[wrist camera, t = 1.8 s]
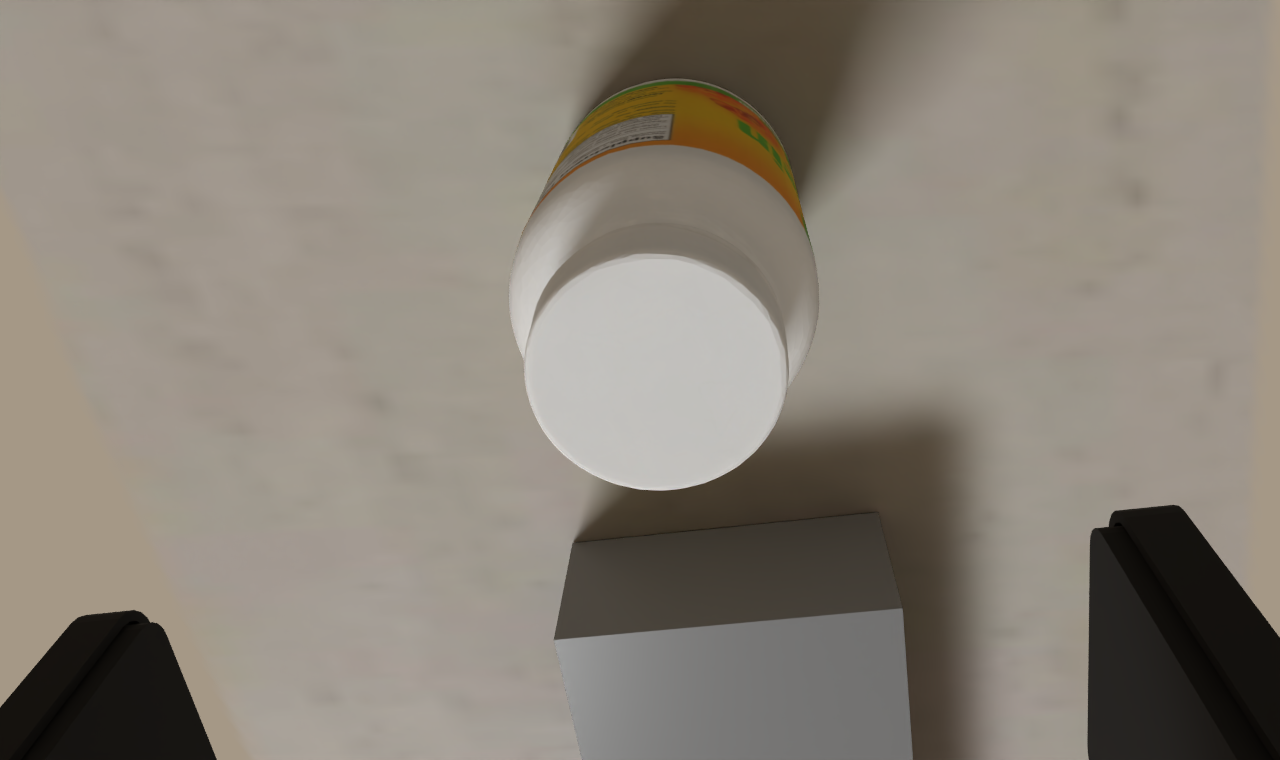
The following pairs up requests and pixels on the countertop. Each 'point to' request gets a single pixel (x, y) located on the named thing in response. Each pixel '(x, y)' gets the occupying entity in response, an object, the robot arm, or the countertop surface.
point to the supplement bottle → (664, 287)
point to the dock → (737, 644)
